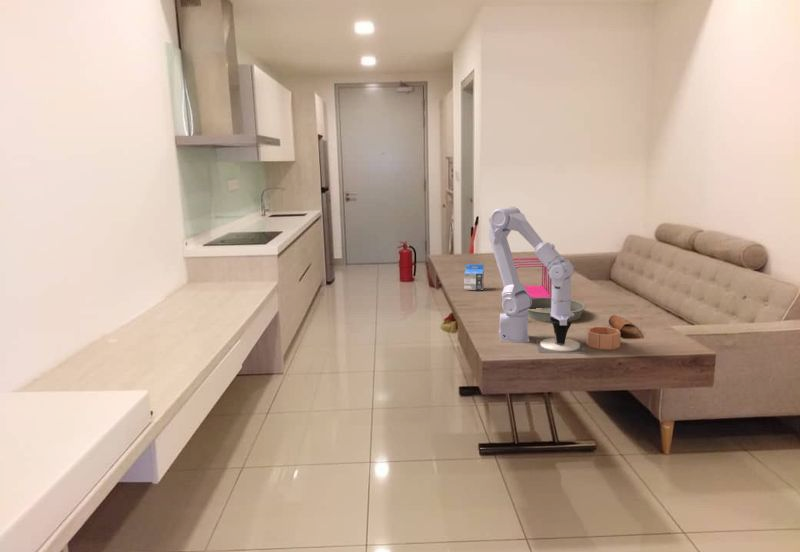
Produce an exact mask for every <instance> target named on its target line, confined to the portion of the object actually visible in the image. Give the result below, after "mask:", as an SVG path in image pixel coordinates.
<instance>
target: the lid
mask: <svg viewBox="0 0 800 552" xmlns="http://www.w3.org/2000/svg"><path fill="white" fill-rule="evenodd" d="M544 339H545V340H542V341H541V342H540V346H541V347H542V348H544V349H546V350H549V351H554V352H572V351H576V350H578V349H579V348H580V344H579V343H578V342H576V341H574V340H575V339H570V338H566V339H565V342H564V344H559V343H557V340H556V333H554V337H549V338H544Z"/></svg>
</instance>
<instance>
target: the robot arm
mask: <svg viewBox="0 0 800 552" xmlns="http://www.w3.org/2000/svg"><path fill="white" fill-rule="evenodd" d="M488 221H489V232H488V238H489V242H490V245H491V248H492V252H493V255H494V258H495V261H496V265H497V268H498V271H499V274H500V278H501V281H502V285H503V289H502V291H501V299H502V302H501V307H502V310H503V312H504V313H499V329H498V335H499V341H500V340H505V341H514V343H515V342H516V343H530V342H531V341H530V336H529V318H528V308H530V306H531V304H532V299H531V296H530V295H529V294H528V293H527V291H526V288H525V287H524V286H525V285H523V284H522V283H521V282H520V278H519V274H518V271H517V269H516V267H517V266H515V265H516V263H515V264H514V262H515V260H514V261H513V258H514V257H513V254H512V251H511V248H510V244H509V242H508V236H509V234H510V233H511V232H512V231H515V232H518V233H519V235H521V236H522V237H523V239H525V240H526V242H528V244H529V245H531V246H532V247H533V248H534V255H535V257H536V258H538V259H539V260H538V261H541V262H540V263H543V264H544V266H545V267H546V268H547V274H548V273H549V279H550V278H551V295H552V299H551V316H552V317H551V318H550V319H551V321H552V322H551V324H552V327H553V331H554V332H553V333H554V334H555V333H556V340H557V343H559V344H564V342H565V339H567V338H566V337H567V333H568V331H569V329H570V327H571V326H572V321H568V320H569V317H570V316H574V313H570V300H572V298H571V293H572V291H571V289H572V277H573V275H574V273H575V267H574V264H573V263H572V262H571V260H568V259H566V258H565V257H564V256H562V255H561V254H560V253H559V251H557V250H556V248H555V247H556V246H555V245H554V244H553V243H550V242H548V241H544V240H543V239H542V238H541V237H540V236H539V233H537V232H536V230H535V229H534V228H533V227H532V225H531V224H530V223H529V221H528V220H527V218H526V216H525V214H524V213H523V212H521V210H520V209H519V208H518V207H516V206H509V207H504V208H503V207H502V208H501V207H499V208H495V209H494V210H493V211H492V212H491V214H490V216H489V217H488ZM548 270H549V271H548ZM503 336H504V337H503Z"/></svg>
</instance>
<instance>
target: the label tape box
mask: <svg viewBox="0 0 800 552" xmlns="http://www.w3.org/2000/svg"><path fill="white" fill-rule="evenodd" d="M484 272H485V269H484V264H480V263H479V264H477V263H475V264H474V263H465V271H464V274H463V277H464V278H463V281H464V282H463V284H464V285H463V288H464V289H470V290H483V289H484V290H485V287H484V286H485V284H484V283H485V277H484V276H485V275H484ZM464 289H463V290H464ZM484 290H483V291H484Z"/></svg>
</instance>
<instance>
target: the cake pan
mask: <svg viewBox="0 0 800 552" xmlns="http://www.w3.org/2000/svg"><path fill="white" fill-rule="evenodd" d="M551 299H552V297H543V298H532V304H531V306H530V308H528V317H529V318H531V319H530V320H533V319H535V320H534V321H537V320H539V321H538V322H544V321H545V322H546V323H552V321H551V319H550V318H551V317H552V316H551ZM536 308H542V310H541V309H540V310H541V311H536V310H531V309H536ZM586 308H587V307H586V304H584V303H583V302H581V301H579V300H575V299H571V300H570V313H574V316H570V317H569V320H568V322H573V321H576V320H578V319H580V318H581V317H582V316H581V315H582V312H583V311H584V310H585V309H586ZM529 318H528V319H529Z"/></svg>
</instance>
